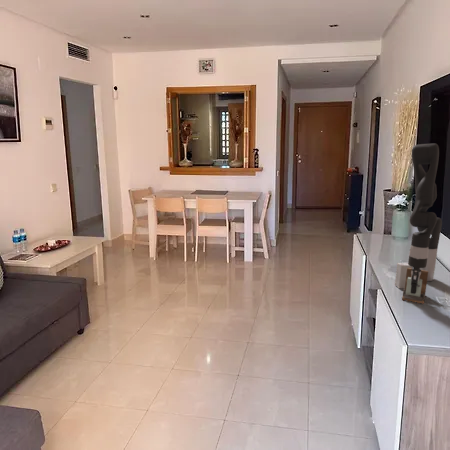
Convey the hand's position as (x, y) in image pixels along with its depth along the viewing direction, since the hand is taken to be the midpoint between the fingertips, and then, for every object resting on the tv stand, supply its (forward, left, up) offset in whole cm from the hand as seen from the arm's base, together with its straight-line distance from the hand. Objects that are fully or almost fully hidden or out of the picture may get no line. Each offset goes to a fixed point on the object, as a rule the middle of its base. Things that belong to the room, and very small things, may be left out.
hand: (413, 292), depth 186 cm
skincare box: (-15, -6, -4) cm, 17 cm away
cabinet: (-4, 0, -4) cm, 5 cm away
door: (0, 0, -3) cm, 3 cm away
